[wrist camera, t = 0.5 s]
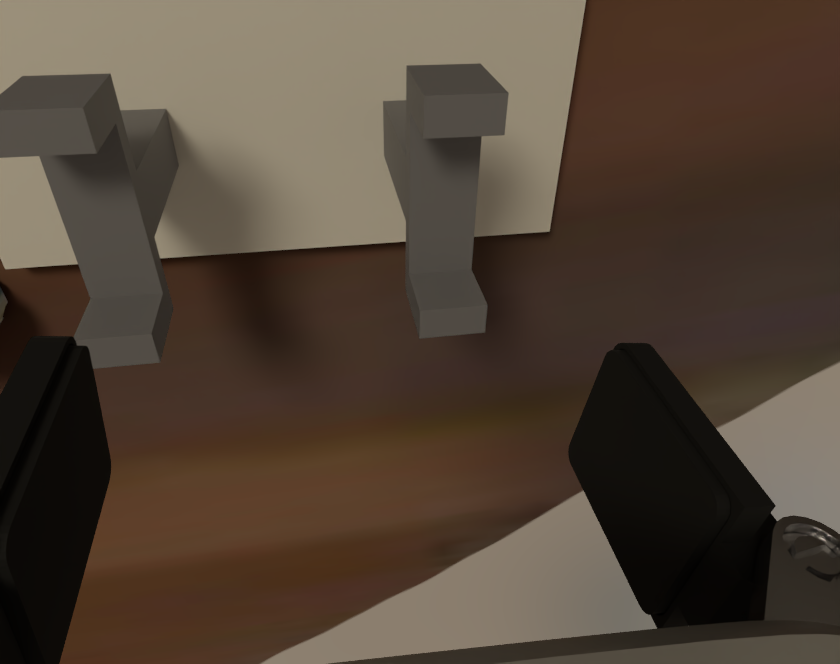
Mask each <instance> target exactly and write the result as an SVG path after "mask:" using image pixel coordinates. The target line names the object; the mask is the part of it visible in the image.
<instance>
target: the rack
mask: <svg viewBox="0 0 840 664" xmlns="http://www.w3.org/2000/svg"><path fill="white" fill-rule="evenodd" d="M585 4H586V0H0V259H1V261H2V263H3V265H4V268H5V269H15V268H29V267H44V266H58V265H73V264H78V265H79V268H80V271H81V274H82V276H83V279H84V282H85V285H86V287H87V290H88V293H89V296H90V298H91V299H90V301H89V304H88V306H87V308H86V310H85V313H84V315H83V317H82V320H81V322H80V324H79V326H78V329H77V331H76V333H75V335H74V339H75V341H76V343H77V345H78V346H87V347H88V349H89V352H90V356H91V361H92V366H93V369H94V368H105V367H116V366H127V365H138V364H149V363H159V362H160V361H161V357H162V353H163V349H164V345H165V341H166V337H167V333H168V329H169V325H170V320H171V316H172V312H173V305H172V301H171V297H170V294H169V290H168V286H167V282H166V279H165V275H164V271H163V267H162V264H161V260H160V258H174V257H189V256H203V255H218V254H232V253H247V252H261V251H276V250H290V249H305V248H319V247H334V246H348V245H363V244H377V243H392V242H406V293H407V296H408V300H409V304H410V307H411V311H412V314H413V318H414V321H415V325H416V328H417V332H418V336H419V339H420V338H431V337H441V336H452V335H463V334H474V333H485V326H486V316H487V306H488V305H487V303H486V300H485V298H484V296H483V294H482V292H481V289H480V287H479V285H478V283H477V281H476V278H475V276H474V274H473V272H472V270H471V269H472V256H473V243H474V237H479V236H493V235H508V234H522V233H537V232H550V225H551V219H552V213H553V206H554V200H555V194H556V187H557V181H558V175H559V168H560V162H561V156H562V149H563V143H564V137H565V130H566V124H567V118H568V111H569V105H570V99H571V92H572V86H573V80H574V73H575V67H576V61H577V54H578V48H579V42H580V35H581V29H582V23H583V16H584V10H585Z"/></svg>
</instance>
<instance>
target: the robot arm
mask: <svg viewBox="0 0 840 664" xmlns="http://www.w3.org/2000/svg"><path fill="white" fill-rule="evenodd" d="M568 452H569V460H570V463H571V465H572V468H573V470H574V472H575V474H576V476H577V478H578V480H579V482H580V484H581V486H582V488H583V490H584V492H585V494H586V496H587V498H588V500H589V502H590V504H591V506H592V509H593V511H594V513H595V515H596V517H597V519H598V521H599V522H600V525H601V527H602V529H603V531H604V533H605V535H606V537H607V539H608V541H609V544H610V546H611V548H612V550H613V552H614V554H615V556H616V558H617V560H618V562H619V564H620V566H621V568H622V570H623V572H624V574H625V576H626V578H627V580H628V583H629V585H630V587H631V589H632V591H633V593H634V595H635V597H636V599H637V601H638V603H639V605H640V607H641V608H642V610H643V611H644V612H645V613H646V614H649V615H651V616H652V619H653V621H654V623H655V625H656V627H657V629H650V630H640V631H630V632H620V633H611V634H601V635H591V636H581V637H572V638H561V639H552V640H542V641H534V642H523V643H515V644H504V645H495V646H486V647H477V648H468V649H458V650H448V651H439V652H430V653H421V654H411V655H403V656H394V657H384V658H375V659H366V660H357V661H348V662H340V663H331V664H840V534H838V533H837V532H836V531H834V530H833V529H831V528H829V527H827V526H826V525H824V524H822V523H820V522H817V521H815V520H812V519H809V518H806V517H799V516H789V517H783V518H782V519H780V520H779V521H776V519H775V518H774V517H773V516H772V514H771V511H772V510H773V509H774V507H775V504H774V503H773V502H772V501H771V499H770V498H769V497H768V495H767V494H766V493H765V492H764V490H763V489H762V488H761V486H760V485H759V484H758V482H757V481H756V480H755V479H754V477H753V476H752V475H751V473H750V472H749V471H748V470H747V468H746V467H745V466H744V464H743V463H742V462H741V460H740V459H739V458H738V457H737V455H736V454H735V453H734V451H733V450H732V449H731V448H730V446H729V445H728V444H727V442H726V441H725V440H724V439H723V437H722V436H721V435H720V433H719V432H718V431H717V429H716V428H715V427H714V426H713V424H712V423H711V422H710V420H709V419H708V418H707V417H706V415H705V414H704V413H703V411H702V410H701V409H700V408H699V406H698V405H697V404H696V402H695V401H694V400H693V398H692V397H691V396H690V395H689V393H688V392H687V391H686V389H685V388H684V387H683V386H682V384H681V383H680V382H679V380H678V379H677V378H676V377H675V375H674V374H673V373H672V371H671V370H670V369H669V367H668V366H667V365H666V364H665V362H664V361H663V360H662V358H661V357H660V356H659V355H658V353H657V352H656V351H655V349H654V348H653V347H652V346H651V345H650V344H647V343H620V344H617V345H616V346H615V348H614V349H613V350H610V351H609V352H608V353H607V354H606V356H605V358H604V361H603V363H602V366H601V368H600V371H599V373H598V375H597V378H596V380H595V383H594V385H593V388H592V390H591V393H590V395H589V398H588V400H587V403H586V405H585V408H584V410H583V413H582V415H581V418H580V420H579V423H578V425H577V427H576V430H575V432H574V435H573V437H572V440H571V442H570V445H569V451H568ZM110 474H111V459H110V453H109V448H108V443H107V438H106V433H105V428H104V422H103V417H102V412H101V407H100V402H99V397H98V392H97V387H96V382H95V377H94V371H93V366H92V361H91V356H90V352H89V349H88V347H87V346H78V345H77V343H76V341H75V339H74V338H73V337H68V336H34V337H31V339H30V340H29V341H28V343H27V345H26V347H25V349H24V351H23V353H22V355H21V357H20V359H19V361H18V362H17V364H16V366H15V368H14V370H13V372H12V374H11V376H10V378H9V380H8V382H7V383H6V385H5V387H4V389H3V391H2V393H1V395H0V664H59V662H60V659H61V655H62V651H63V648H64V644H65V640H66V637H67V633H68V630H69V626H70V622H71V619H72V615H73V611H74V608H75V604H76V600H77V597H78V593H79V589H80V586H81V582H82V579H83V575H84V571H85V568H86V564H87V560H88V557H89V553H90V549H91V546H92V542H93V538H94V535H95V531H96V528H97V524H98V520H99V517H100V513H101V509H102V506H103V502H104V498H105V495H106V491H107V488H108V484H109V480H110ZM688 625H689V626H688Z"/></svg>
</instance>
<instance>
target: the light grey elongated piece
mask: <svg viewBox="0 0 840 664" xmlns="http://www.w3.org/2000/svg"><path fill="white" fill-rule="evenodd" d="M7 303H8V301H7V299H6V297H5V295H4V293H3V291H2V289H1V287H0V323H1V321H2V320H3V314H4V310H5V306H6V304H7Z"/></svg>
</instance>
